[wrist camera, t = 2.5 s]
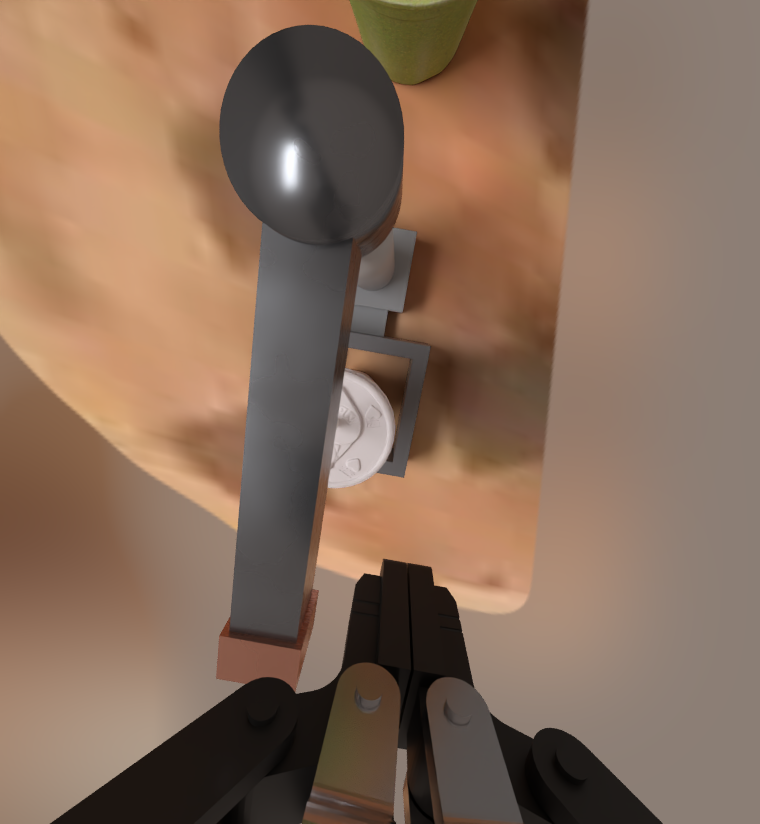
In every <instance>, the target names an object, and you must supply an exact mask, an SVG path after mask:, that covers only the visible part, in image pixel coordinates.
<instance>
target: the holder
mask: <svg viewBox="0 0 760 824" xmlns="http://www.w3.org/2000/svg"><path fill="white" fill-rule="evenodd" d="M416 235H417V232H415V231H410V230H404V229H398V228H392V230H391V232H390V233H389V235H388V236H387V238H386V239H385V240H384V241H383V242H382V244H381V245H380V246H378V247H377V248H376V249H375V250H374V251H372V252H371V253H369V254H368V255H366V256H364V257H362V258H361V263H360V270H359V277H358V284H357V291H356V297H355V304H354V311H353V318H352V325H351V331H350V338H349V345H348V348H353V349H359V350H365V351H370V352H376V353H382V354H387V355H393V356H398V357H404V358H410V363H409V368H408V374H407V379H406V384H405V389H404V394H403V400H402V405H401V410H400V415H399V421H398V426H397V431H396V436H395V441H394V447H393V448H392V449H391V452H390V454H389V456H388V458H387V460H386V462H385V463H384V464H383V466H382V467H381V468H380V469H379V470H378V471H377V472H376V473H381V474H386V475H392V476H398V477H403V478H404V475H405V470H406V466H407V461H408V456H409V451H410V446H411V441H412V436H413V431H414V426H415V422H416V417H417V412H418V407H419V402H420V397H421V392H422V387H423V382H424V377H425V373H426V368H427V363H428V358H429V353H430V348H431V346H429V345H428V344H426V343H420V342H415V341H409V340H404V339H398V338H392V337H387V336H384V334H385V328H386V322H387V316H388V311H392V312H397V313H402V312H403V307H404V301H405V296H406V290H407V285H408V279H409V274H410V268H411V263H412V257H413V251H414V246H415V240H416Z"/></svg>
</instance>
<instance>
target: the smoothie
mask: <svg viewBox="0 0 760 824" xmlns="http://www.w3.org/2000/svg"><path fill="white" fill-rule="evenodd" d="M395 428H396V426H395V419H394V412H393V409H392V407H391V405H390V403H389V400H388V398H387V396H386V395H385V394H384V393H383V391H382V390H381V389H380V388H379V386H378V385H377V384H376V383H375V382H374V380H373V379H372V378H371V377H370V376H369V375H367V374H366V373H364V372H361V371H357V370H351V369H348V368H345V372H344V379H343V386H342V392H341V399H340V406H339V413H338V420H337V426H336V433H335V440H334V447H333V454H332V460H331V467H330V474H329V481H328V488H344V487H350V486H353V485H356V484H359V483H361V482H363V481H365V480H367V479H369V478H370V477H371V476H373V475H374V474H375V473H376V472H377V471H378V470H379V469H380V468H381V467H382V466H383V464H384V463H385V462H386V460H387V458H388V456H389V454H390V452H391V449H392V445H393V442H394V436H395Z"/></svg>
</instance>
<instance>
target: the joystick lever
mask: <svg viewBox="0 0 760 824" xmlns="http://www.w3.org/2000/svg"><path fill="white" fill-rule="evenodd" d="M220 145H221V152H222V157H223V161H224V165H225V168H226V171H227V174H228V177H229V179H230V181H231V183H232V185H233V187H234V189H235V191H236V192H237V194H238V196H239V197H240V199H241V200H242V202H243V203H244V204H245V205H246V207H247V208H248V209H249V210H250V211H251V212H252V213H253V214H254V215H255V216H256V217H257V218H258V219H259V220H261V221H262V222H263V223H262V235H261V247H260V260H259V272H258V284H257V297H256V309H255V321H254V333H253V346H252V358H251V370H250V383H249V395H248V407H247V420H246V432H245V444H244V457H243V469H242V481H241V493H240V506H239V518H238V530H237V543H236V555H235V567H234V580H233V593H232V604H231V616H230V618H229V620H228V621H227V623H226V625H225V627H224V629H223V630H222V632H221V634H220V636H219V648H218V661H217V676H216V678H217V679H222V680H227V681H233V682H238V683H244V684H247V683H248V682H250V681H253V680H255V679H258V678H262V677H274V678H279V679H281V680H283V681H285V682H286V683H288V684H289V685H290V686H291V687H292V688H293V690H294V691H296V687H297V684H298V680H299V677H300V673H301V669H302V666H303V662H304V658H305V655H306V651H307V648H308V644H309V640H310V636H311V633H312V629H313V625H314V618H315V612H316V605H317V599H318V592H319V591H318V590H314V589H313V582H314V576H315V569H316V562H317V555H318V549H319V542H320V535H321V528H322V521H323V515H324V508H325V501H326V494H327V487H328V481H329V474H330V467H331V460H332V454H333V447H334V440H335V433H336V426H337V420H338V413H339V406H340V399H341V392H342V386H343V379H344V372H345V365H346V359H347V352H348V345H349V338H350V331H351V325H352V318H353V311H354V304H355V297H356V291H357V284H358V277H359V270H360V263H361V258H362V257H364V256H366V255H368V254H369V253H371V252H372V251H374V250H375V249H376V248H377V247H378V246H380V245H381V244H382V242H383V241H384V240H385V239H386V238H387V236H388V235H389V233H390V232H391V230H392V228H393V226H394V224H395V222H396V220H397V217H398V214H399V211H400V206H401V199H402V181H403V154H404V125H403V117H402V111H401V107H400V102H399V99H398V96H397V93H396V90H395V88H394V85H393V83H392V81H391V79H390V77H389V75H388V73H387V72H386V70H385V69H384V67H383V66H382V65H381V63H380V62H379V60H378V59H377V58H376V57H375V56H374V55H373V54H372V53H371V51H370V50H368V49H367V48H366V47H365V46H364V45H363V44H361V43H360V42H359V41H357V40H356V39H354V38H352V37H351V36H349V35H348V34H345V33H343V32H341V31H338V30H336V29H333V28H329V27H325V26H317V25H301V26H294V27H290V28H286V29H283V30H280V31H278V32H276V33H273V34H271V35H270V36H268V37H267V38H265V39H263V40H262V41H260V42H259V43H258V44H257V45H256V46H255V47H253V48H252V49H251V50H250V51H249V52H248V54H247V55H246V56H245V57H244V58H243V59H242V61H241V62H240V64H239V65H238V67H237V68H236V69H235V71H234V73H233V75H232V77H231V79H230V81H229V83H228V86H227V89H226V92H225V95H224V98H223V103H222V107H221V114H220Z"/></svg>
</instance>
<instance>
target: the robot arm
mask: <svg viewBox="0 0 760 824" xmlns="http://www.w3.org/2000/svg"><path fill="white" fill-rule="evenodd" d="M397 748H401V749H407V772H406V776H405V780H404V784H403V803H404V817H405V824H662V822H661V821H660V820H659V819H658V818H657V817H655V815H654V814H653V813H652V812H651V811H650V810H649V809H648V808H647V807H646V806H645V805H644V804H643V803H642V802H641V801H640V800H639V799H638V798H637V797H636V796H635V795H634V794H633V793H632V792H631V791H630V790H629V789H628V788H627V787H626V786H625V785H624V784H623V783H622V782H621V781H620V780H619V779H617V777H616V776H615V775H614V774H613V773H612V772H611V771H610V770H609V769H608V768H607V767H606V766H605V765H604V764H603V763H602V762H601V761H600V760H599V759H598V758H597V757H596V756H595V755H594V754H593V753H591V751H590V750H589V749H588V748H587V747H586V746H585V745H583V744H582V743H581V742H580V741H579V740H577V739H576V738H575V737H573V736H572V735H570V734H568V733H567V732H564V731H562V730H559V729H555V728H545V729H542V730H540V731H539V732H538V733H537V734H536V735H535V737H534V739H532V738H531V737H529V736H527V735H524V734H523V733H521V732H519V731H517V730H515V729H513V728H511V727H509V726H508V725H506V724H504V723H502V722H501V721H499V720H498V719H497V718H496V717H494V716H493V715H492V714H491V713H490V712H489V709H488V707H487V704H486V703H485V701H484V699H483V698H482V696H481V695H480V694H479V693H478V692H477V690H476V689H475V688H474V685H473V680H472V675H471V671H470V666H469V661H468V656H467V652H466V647H465V642H464V637H463V633H462V628H461V623H460V620H459V613H458V609H457V604H456V601H455V599H454V598H453V596H452V595H451V594H450V592H449V591H448V589H447V588H446V587H440V586H434V581H433V574H432V568H431V567H428V566H422V565H417V564H411V563H405V562H399V561H393V560H388V559H383V562H382V566H381V571H380V576H377V575H371V574H365V573H364V575H363V576H362V577H361V578H360V580H359V581H358V582H357V584H356V586H355V591H354V597H353V602H352V608H351V614H350V620H349V625H348V631H347V638H346V644H345V650H344V657H343V663H342V668H341V671H340V672H339V674H338V676H337V677H336V678H335V679H334V680H333V681H332V682H331V683H330V684H328V685H326V686H325V687H323V688H321V689H318V690H314V691H310V692H304V693H299V694H296V693H295V691H294V690H293V688H292V687H291V686H290V685H289V684H288V683H286V682H285V681H283V680H281V679H279V678H274V677H262V678H258V679H255V680H253V681H250V682H248V683H247V684H245V685H244V686H242V687H241V688H239V689H238V690H237V691H235V692H234V693H233V694H231V695H230V696H228V697H227V698H226V699H224V700H223V701H221V702H220V703H218V704H217V705H216V706H214V707H213V708H211V709H210V710H209V711H207V712H206V713H204V714H203V715H202V716H200V717H199V718H198V719H196V720H195V721H193V722H192V723H190V724H189V725H188V726H186V727H185V728H183V729H182V730H181V731H179V732H178V733H176V734H175V735H174V736H172V737H171V738H169V739H168V740H167V741H165V742H164V743H162V744H161V745H160V746H158V747H157V748H155V749H154V750H153V751H151V752H150V753H148V754H147V755H146V756H144V757H143V758H141V759H140V760H139V761H137V762H136V763H134V764H133V765H132V766H130V767H129V768H127V769H126V770H124V771H123V772H122V773H120V774H119V775H118V776H116V777H115V778H113V779H112V780H110V781H109V782H108V783H106V784H105V785H104V786H102V787H101V788H99V789H98V790H96V791H95V792H94V793H92V794H91V795H89V796H88V797H87V798H85V799H84V800H82V801H81V802H80V803H78V804H77V805H76V806H74V807H73V808H71V809H70V810H68V811H67V812H66V813H64V814H63V815H61V816H60V817H59V818H57V819H56V820H54V821H53V822H52V823H50V824H300V823H302V824H396V822H395V821H394V816H393V814H394V812H393V811H394V794H395V779H396V764H397Z"/></svg>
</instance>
